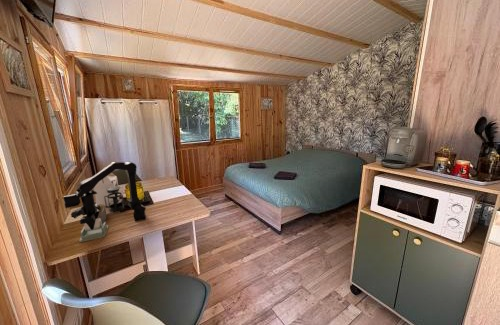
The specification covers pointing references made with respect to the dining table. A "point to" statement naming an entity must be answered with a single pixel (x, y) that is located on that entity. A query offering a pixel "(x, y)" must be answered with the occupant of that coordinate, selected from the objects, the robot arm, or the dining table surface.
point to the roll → (96, 226)
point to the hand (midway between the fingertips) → (93, 227)
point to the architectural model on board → (102, 213)
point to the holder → (93, 233)
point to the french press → (114, 198)
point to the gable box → (102, 187)
